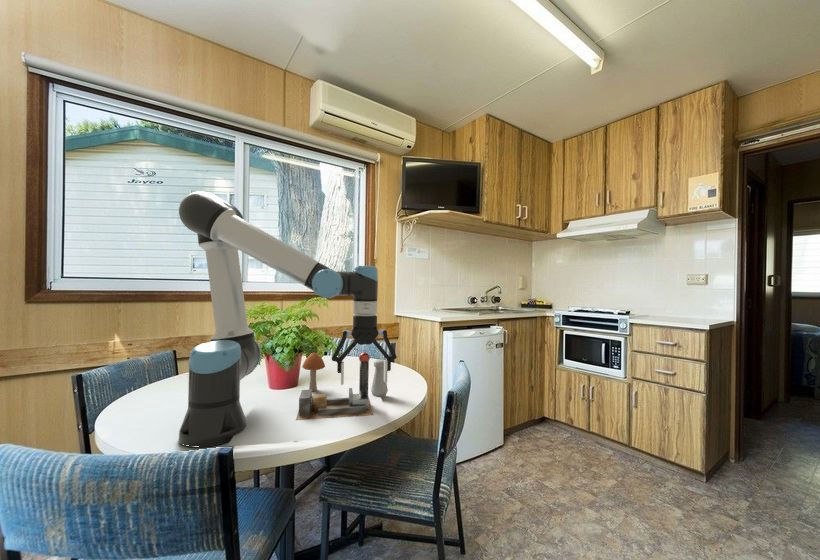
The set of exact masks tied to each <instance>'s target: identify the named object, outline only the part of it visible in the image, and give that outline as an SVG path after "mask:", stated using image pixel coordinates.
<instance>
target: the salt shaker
mask: <svg viewBox="0 0 820 560" xmlns="http://www.w3.org/2000/svg"><path fill="white" fill-rule="evenodd" d="M384 360H385V359H376V360H374V362H373V366H374V367H375V368H374V373H373V378H372V383H371V388H370V389H371V390H370V392H371V394H372V395H373V396H375V397H380V399H382V398H383V399H385V398H386V396H387V394H388V392H389V389H388V384H387V383H388V382H384Z"/></svg>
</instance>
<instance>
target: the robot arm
mask: <svg viewBox="0 0 820 560" xmlns="http://www.w3.org/2000/svg"><path fill="white" fill-rule="evenodd" d="M178 216H179V219H180V221H181V223H182V224H183V225H184V226H185V227H186V228H187V229H188V230H190V231H191V232H193V233H196V235H197V242H198V247H200V249H202V250H203V251H204V252H205V257H206V265H207V273H208V279H209V289H210V296H211V297H210V298H211V303H212V304H211V305H212V306H211V307H212V312H213V319H214V320H213V321H214V328H215V331H214V333H213V335H211V336H210V341H209V342H204V343H200V344H198V345H196V346H195V347H193V348H192V349H191V351H190V353H189V360H188V362H187V364H188V388H187V389H188V391H187V393H188V395H187V396H188V397H187V410H186V413H185V415H184V418H183V421H182V423H181V426H180V429H179V431H178V442H180V443H181V444H184V445H189V446H199V447H198V448H207V447H215V446H219V445H223V444H226V443H229V442H231V441H232V439H233V437H234V436H236V435H239V434H240V433H242V432H243V431H244V430H245V429H246V427H247V420H246V416H245V412H244V410H243V408H242V407H243V406H242V405H241V401H240V396H241V395H240V394H241V390H240V389H241V381H242V379H244V378H245V377H247V376H248V375H250V374H251V373H252V372H254V370H255V369H256V368H257V367H258V365H259V363H260V361H261V358H262V349H261V346H260V345H259V343H258V342H257V341H256V339H255V332H254V329H252V328H251V327H249V325H248V319H247V318H248V317H247V312H246V310H247V309H246V305H245V304H246V303H245V302H246V301H245V295H244V289H243V286H244V285H243V280H242V272H241V264H240V263H241V262H240V256H239V255H240V254H239V251H240V252H242V253H243V254H245V255H247V256H249V257H251V258H253V259H255V260H257V261H259V262H260V263H261V264H264V265H265V266H267V267H270V268H272V269H273V270H275V271H277V272H278V273H281V274H282V275H284V276H286V277H288V278H289V279H292V280H293V281H295V282H297V283H298V284H301V285H303V286H304V287H306V288H308V289H309V290H311V291H313V292H314V294H315V295H316V296H319V297H321V298H324V299H330V298H334V297H338V296H342V297H343V296H353V299H352V300H353V301H352V302H353V303H352V305H353V309H352V313H353V314H354V315H353V316H352V330H347V329H343V330H342V336H341V338H340V341H339V342H338V344H337V346H336V348H335V350H334V352H333V354H332V356H331V361H332V362H336V363H337V364H336V365H337V374H340V385H341V386H342V385H344V381H345V380H344V377H345V375H344V372H345V371H344V370H345V368H344V367H345V365H344V364H345V363H344V362H345V361H343V360H344V359H345V358H346V357H347V356H348V355H349V354H350V352H351V351H352V350H353V349H354V347H356V346H357V345H360V346H362V345H368V346H370V345H371V344H373V345H374V346H375V347H376V348H377V350H379V352H380V354H382V356H384V358H385V359H383V360H384V382H386V383H388V372H390V371H392V369H391V368H392V366H391V365H392V361H393V360H396V359H397V358H398V357H397V354H396V352H395V350H394V348H393V346H392V344H391V341H390V340H389V337H388V331H387V329H385V328H384V329H381V330H378V316H377V314H378V291H379V290H378V289H379V288H378V287H379V286H378V284H379V281H378V279H379V278H378V277H379V276H378V275H379V274H378V268H377V267H376V266H375V265H355V266H354V267H353V271H336V270H334V269H333V268H330V267H328V266H327V265H325V264H323V263H321V262H319V261H318V260H315V258H312V257H310V256H308V255H307V254H305V253H303V252H301V251H300V250H298V249H296V248H294V247H293V246H291V245H289V244H288V243H286V242H283V241H282V240H280V239H278V238H277V237H274V236H273V235H272V234H270V233H268V232H266V231H264V230H262V229H260V228H259V227H257V226H255V225H253V224H251V223H250V222H248V221H247V220H245V218H244V216H243V214H242V212H241V211H240V210H239V209H238V208H237V207H236V206H235V205H233V204H232V203H231V202H227V201H226V200H223V199H222V198H220V197H219V196H217V195H215V194H213V193H210V192H206V191H195V192H192V193H190V194H188V195H186V196H185V197H184V198H183V199H182V200H181V202H180V203H179V207H178ZM350 336H352V338H353V339H352V341H351V342H350V344H349V345H348V346H347V347H346V348H345V349H344V350H343V352H342V353H341V354H340V351H341V350H342V348H343V346H344V344H345V342H346V341H347V339H348V338H350ZM378 336H380V337H381V338H383V340H384V343H385V345H386V346H387V349H388V351H389V353H390V355H389V354H388V353H387V351H386V350H385V349H384V348H383V347H382V345H381V344H380V343H379V342H378V341H377V340H376V338H377V337H378ZM339 354H340V355H339ZM180 443H179V444H180ZM181 444H180V445H181Z"/></svg>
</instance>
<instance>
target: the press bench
mask: <svg viewBox="0 0 820 560" xmlns="http://www.w3.org/2000/svg"><path fill="white" fill-rule="evenodd" d="M312 394H313V392H312V390H309V389H302V390H301V392H300V395H299V398H298V411H297V414H296V418H295V421H303V420H319V419H334V418H335V419H337V418H349V417H362V416H363V417H365V416H367V417H369V416H374V415H375V414H374V411H373V408H372V404H371V400H370V399H369V409H366V406H351V407H349V397H339V398H327V406H326V408H319V409H318V412H313V411H312V396H313V395H312Z"/></svg>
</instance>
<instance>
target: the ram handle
mask: <svg viewBox="0 0 820 560" xmlns="http://www.w3.org/2000/svg"><path fill="white" fill-rule="evenodd" d="M370 359H371V356H370V354H369V353H368V352H365V351H364V352H361V353H360V354H359V355H358V360H359V380H358V381H359V383H358V384H359V387H358V388H359V389H358V393H354V392H353V387H349V388H348V398H349V407H351V406H366V409H369V400H370V397H369V378H370V377H369V374H370V372H369V370H370V369H369V368H370V367H369V365H370Z"/></svg>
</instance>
